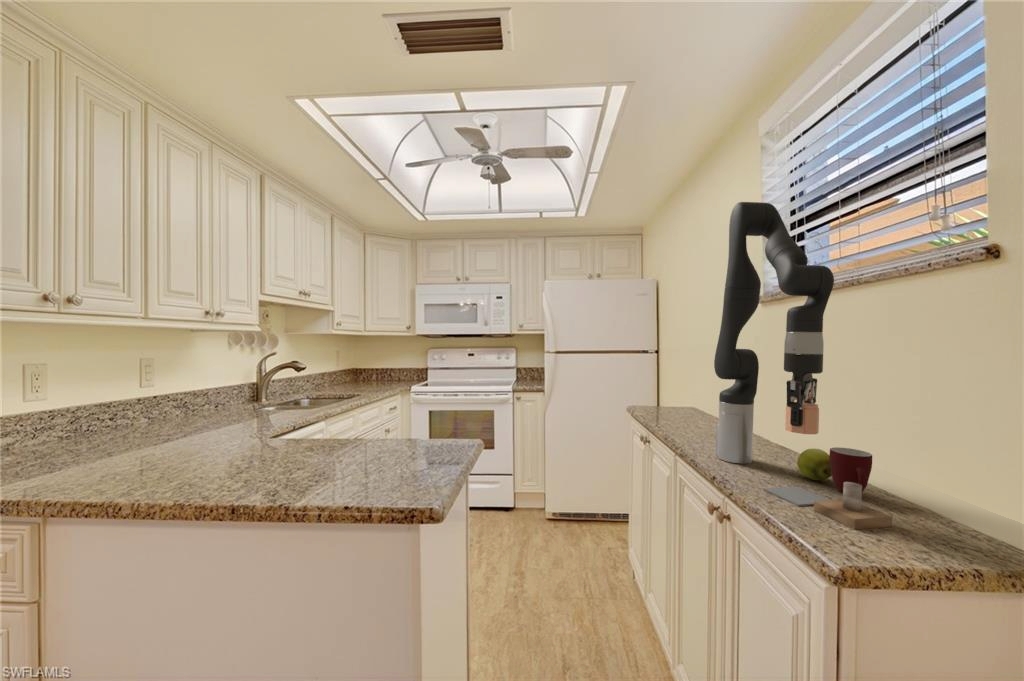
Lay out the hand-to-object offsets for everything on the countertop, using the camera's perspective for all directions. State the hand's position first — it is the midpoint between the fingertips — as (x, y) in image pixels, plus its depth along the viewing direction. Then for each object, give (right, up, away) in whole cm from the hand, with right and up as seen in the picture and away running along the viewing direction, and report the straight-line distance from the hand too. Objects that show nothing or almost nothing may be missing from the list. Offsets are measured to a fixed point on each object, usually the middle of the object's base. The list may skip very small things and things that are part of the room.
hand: (801, 423), depth 101 cm
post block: (+3, -17, -11) cm, 21 cm away
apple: (+12, -17, +13) cm, 25 cm away
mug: (+13, -17, +2) cm, 22 cm away
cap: (0, -2, 0) cm, 2 cm away
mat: (0, -17, 0) cm, 17 cm away
